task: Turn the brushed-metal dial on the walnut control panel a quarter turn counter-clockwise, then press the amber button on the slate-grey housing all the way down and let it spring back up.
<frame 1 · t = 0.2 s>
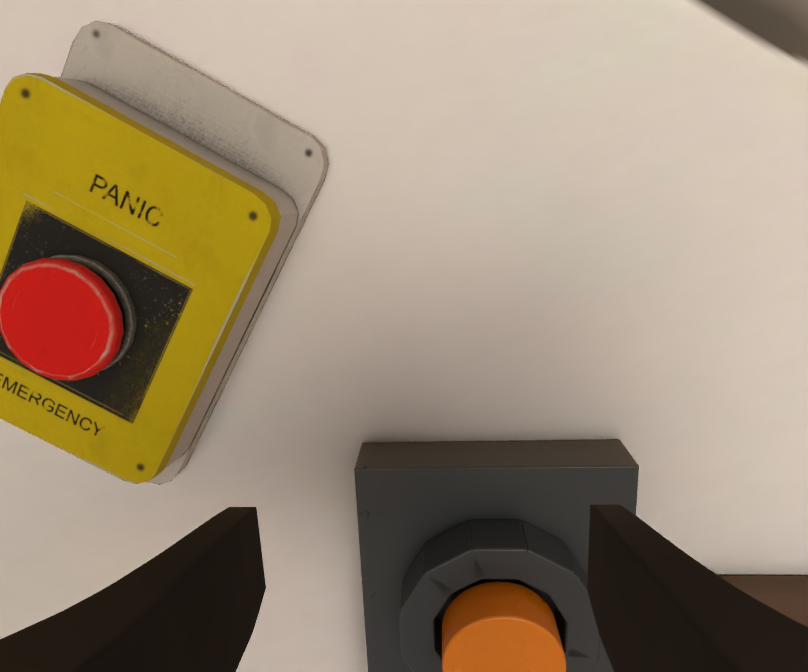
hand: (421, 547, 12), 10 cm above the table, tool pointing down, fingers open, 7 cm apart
emergency button: (142, 272, 22), on the table
button: (501, 648, 19), point 5 cm above the table, slide at 0.2 cm
button box: (489, 563, 24), on the table
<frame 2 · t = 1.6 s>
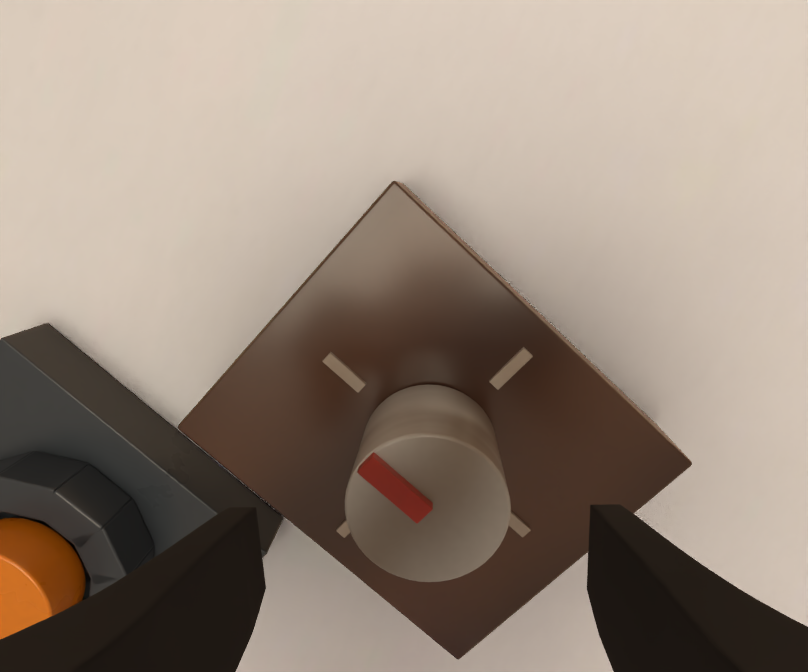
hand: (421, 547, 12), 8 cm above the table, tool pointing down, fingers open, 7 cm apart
button: (6, 590, 18), point 5 cm above the table, slide at 0.2 cm
button box: (93, 510, 22), on the table
dial: (428, 478, 15), point 5 cm above the table, hinge at 0.0°
control panel: (430, 409, 20), on the table
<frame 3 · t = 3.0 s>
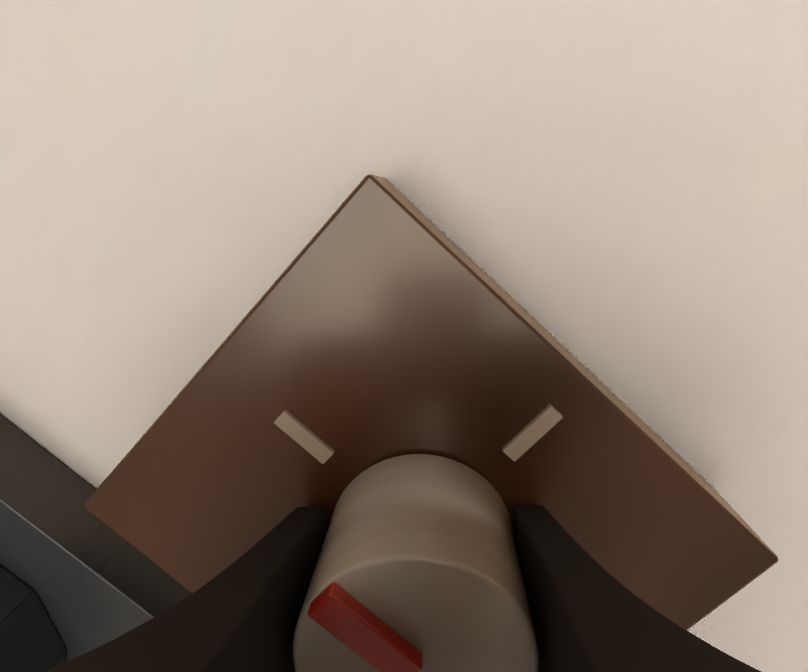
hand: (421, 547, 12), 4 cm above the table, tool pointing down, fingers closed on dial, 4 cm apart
button box: (1, 591, 17), on the table
dial: (417, 595, 11), point 5 cm above the table, hinge at 0.0°, touching gripper
control panel: (424, 470, 16), on the table
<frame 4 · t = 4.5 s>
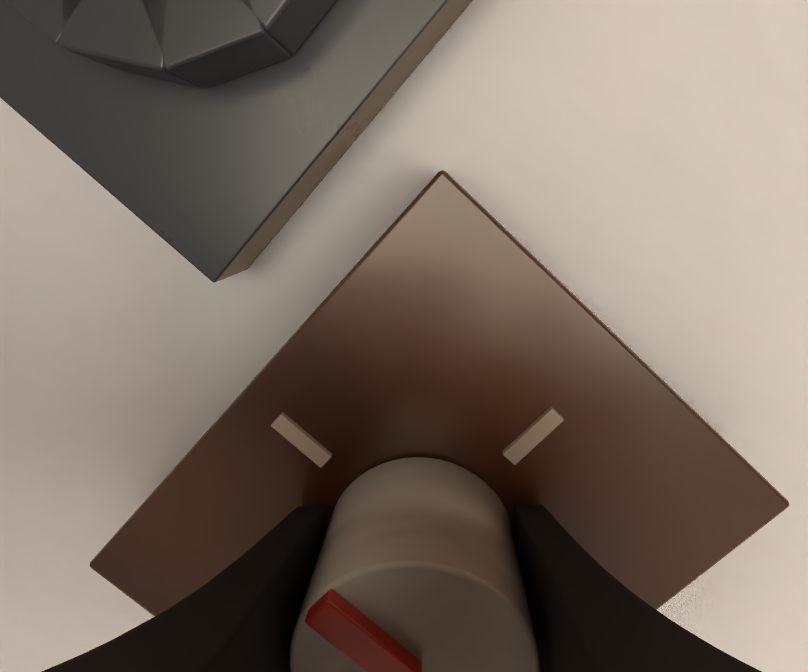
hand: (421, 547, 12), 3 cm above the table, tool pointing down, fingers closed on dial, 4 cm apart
dial: (416, 600, 11), point 5 cm above the table, hinge at 89.8°, touching gripper
control panel: (423, 472, 15), on the table
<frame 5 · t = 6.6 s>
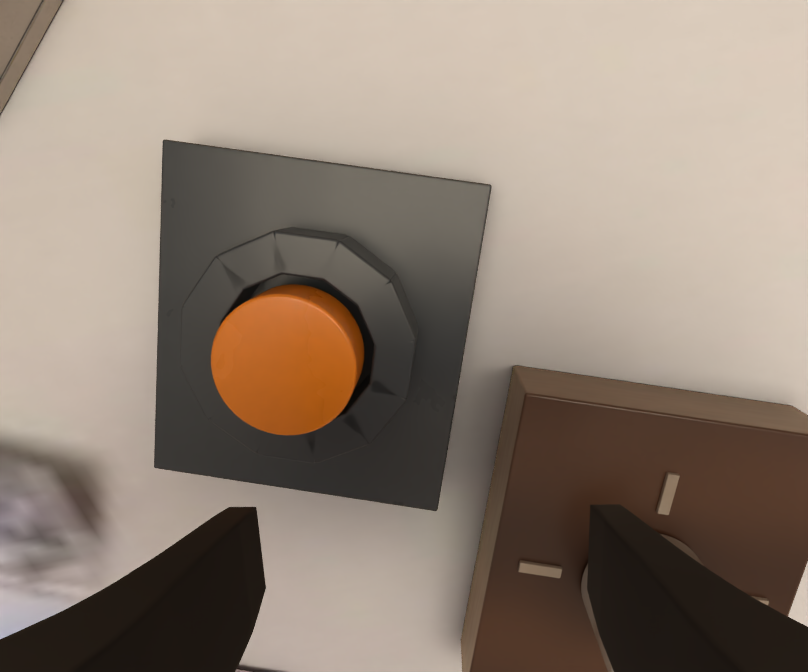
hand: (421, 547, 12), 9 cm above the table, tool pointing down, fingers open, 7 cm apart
button: (290, 358, 16), point 5 cm above the table, slide at 0.2 cm
button box: (322, 323, 21), on the table
dial: (664, 627, 17), point 5 cm above the table, hinge at 89.8°
control panel: (614, 531, 22), on the table
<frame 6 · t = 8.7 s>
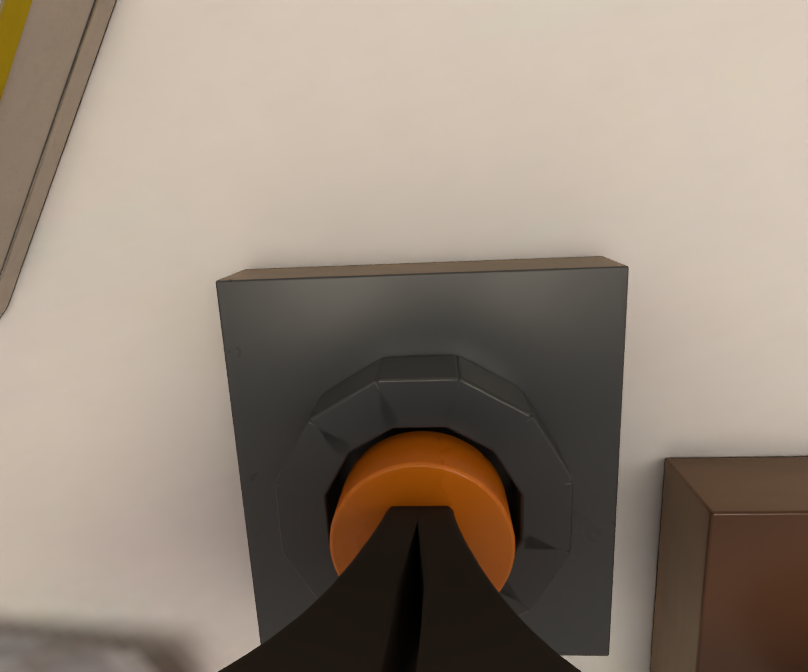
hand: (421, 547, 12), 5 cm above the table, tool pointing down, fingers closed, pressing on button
button: (422, 526, 13), point 4 cm above the table, slide at -0.1 cm, touching gripper
button box: (426, 445, 17), on the table
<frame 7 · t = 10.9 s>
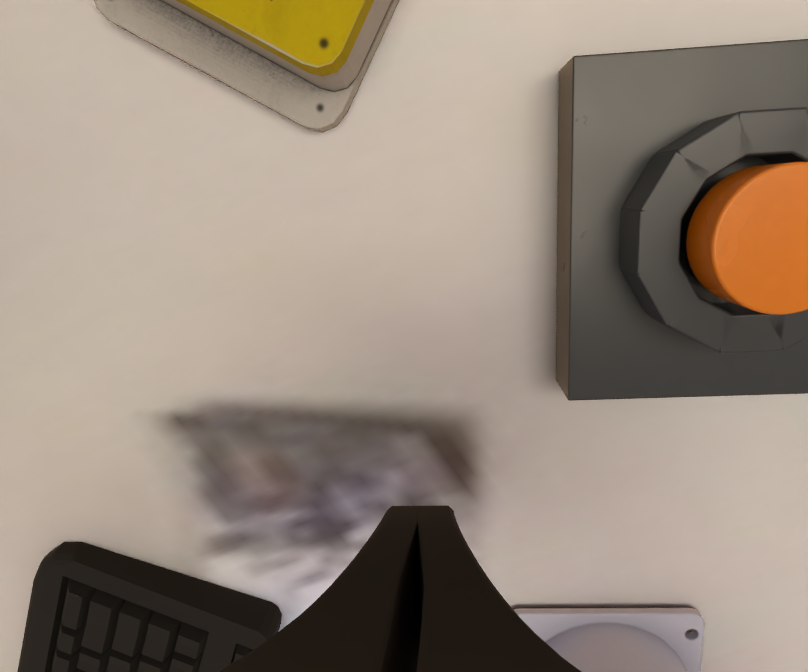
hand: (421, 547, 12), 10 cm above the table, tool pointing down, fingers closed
button: (772, 238, 16), point 5 cm above the table, slide at 0.1 cm
button box: (700, 228, 20), on the table
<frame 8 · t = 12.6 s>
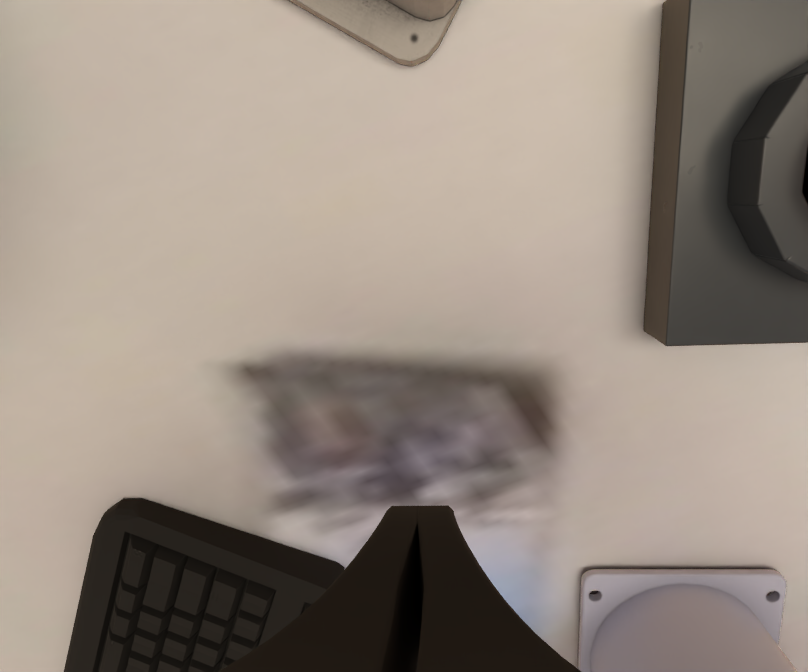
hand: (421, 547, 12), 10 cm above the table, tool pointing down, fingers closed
button box: (802, 170, 20), on the table
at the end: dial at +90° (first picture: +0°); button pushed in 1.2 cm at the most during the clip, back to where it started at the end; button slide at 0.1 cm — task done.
